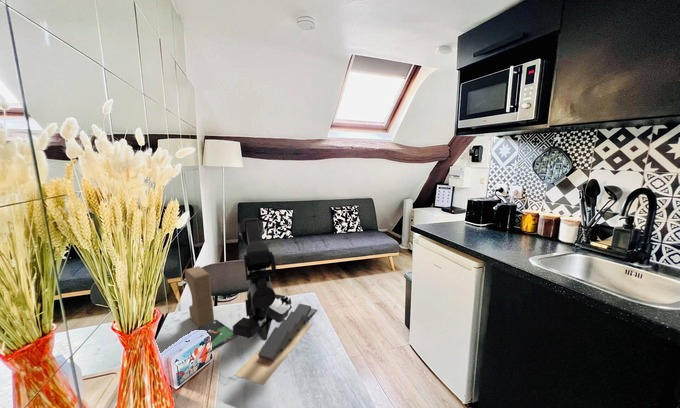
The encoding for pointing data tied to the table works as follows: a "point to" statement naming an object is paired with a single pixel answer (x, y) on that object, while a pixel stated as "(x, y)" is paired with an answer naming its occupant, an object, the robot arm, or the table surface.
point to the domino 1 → (273, 344)
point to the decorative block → (200, 296)
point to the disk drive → (218, 333)
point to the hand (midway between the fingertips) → (264, 339)
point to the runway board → (263, 368)
